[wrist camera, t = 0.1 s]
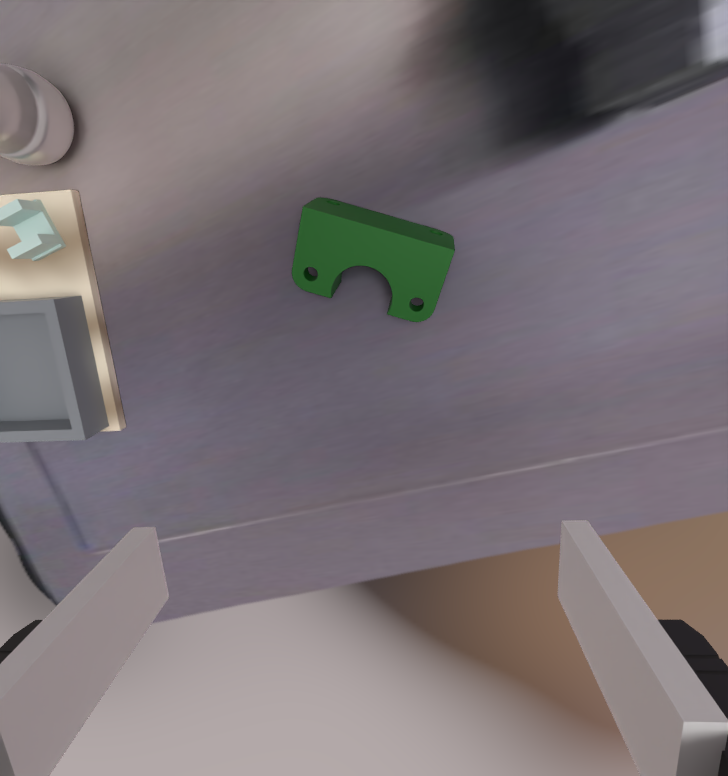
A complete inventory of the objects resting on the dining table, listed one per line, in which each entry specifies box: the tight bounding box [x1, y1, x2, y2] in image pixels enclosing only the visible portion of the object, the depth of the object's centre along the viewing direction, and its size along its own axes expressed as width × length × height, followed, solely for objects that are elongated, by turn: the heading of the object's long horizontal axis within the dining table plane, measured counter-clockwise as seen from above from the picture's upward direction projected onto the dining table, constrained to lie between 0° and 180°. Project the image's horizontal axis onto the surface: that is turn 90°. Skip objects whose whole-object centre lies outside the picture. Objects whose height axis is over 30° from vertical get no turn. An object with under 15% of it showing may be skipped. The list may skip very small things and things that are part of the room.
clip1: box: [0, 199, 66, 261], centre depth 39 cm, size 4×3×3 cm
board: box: [0, 190, 126, 431], centre depth 43 cm, size 21×14×1 cm, turn 3°
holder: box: [0, 296, 109, 443], centre depth 42 cm, size 12×12×4 cm
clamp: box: [292, 198, 455, 322], centre depth 37 cm, size 12×6×9 cm, turn 68°
